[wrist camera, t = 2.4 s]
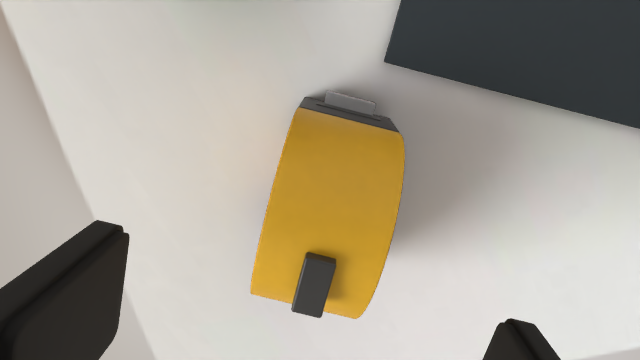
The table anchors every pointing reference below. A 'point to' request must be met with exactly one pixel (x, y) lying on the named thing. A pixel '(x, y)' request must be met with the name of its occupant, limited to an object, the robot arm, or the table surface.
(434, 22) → the mat
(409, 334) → the table surface
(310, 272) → the tape measure
